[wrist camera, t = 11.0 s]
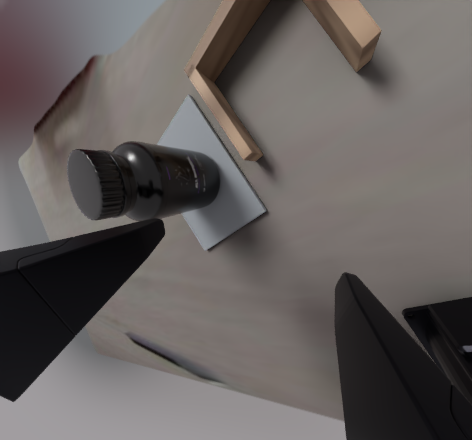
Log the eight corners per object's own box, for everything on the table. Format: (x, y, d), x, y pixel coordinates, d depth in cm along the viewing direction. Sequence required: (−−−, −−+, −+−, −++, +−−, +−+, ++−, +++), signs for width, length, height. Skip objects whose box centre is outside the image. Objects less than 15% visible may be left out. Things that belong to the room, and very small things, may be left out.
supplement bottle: (232, 174, 19) (122, 179, 9) (206, 217, 23) (104, 255, 12) (192, 139, 21) (58, 109, 11) (173, 184, 24) (57, 194, 14)
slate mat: (267, 210, 19) (265, 211, 18) (207, 249, 25) (204, 251, 24) (191, 95, 20) (188, 94, 19) (150, 159, 26) (147, 159, 25)
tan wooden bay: (371, 59, 12) (381, 30, 10) (256, 161, 18) (243, 159, 16) (289, -48, 13) (279, -102, 10) (203, 83, 19) (183, 69, 16)
